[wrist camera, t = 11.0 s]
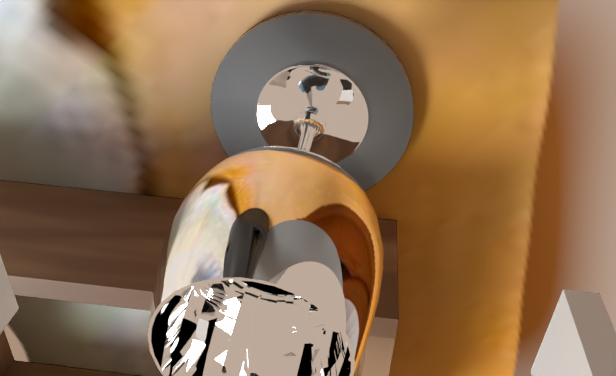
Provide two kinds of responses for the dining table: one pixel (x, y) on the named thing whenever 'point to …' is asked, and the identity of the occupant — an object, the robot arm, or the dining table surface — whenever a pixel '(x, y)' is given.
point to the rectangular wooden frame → (123, 260)
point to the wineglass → (275, 245)
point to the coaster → (328, 51)
